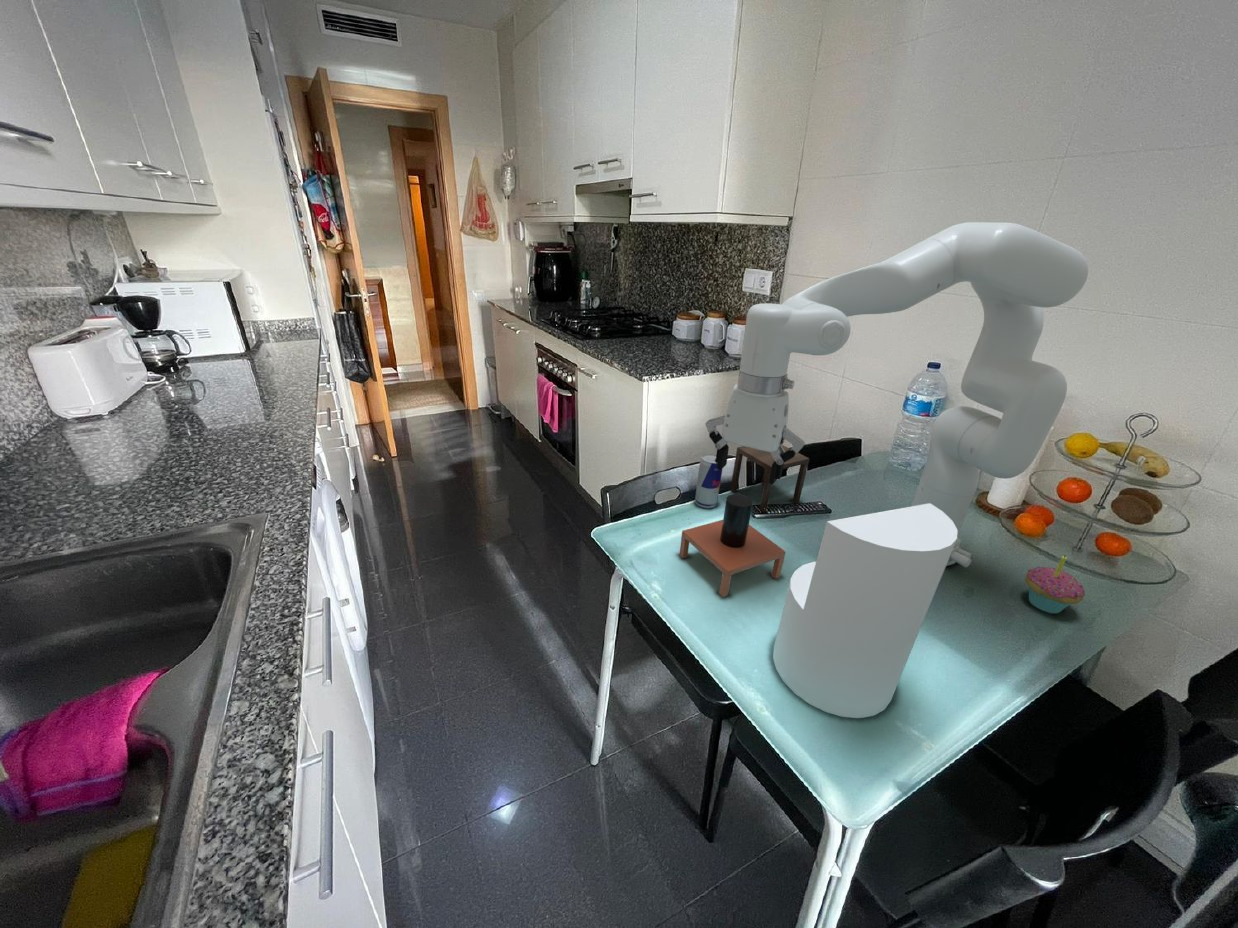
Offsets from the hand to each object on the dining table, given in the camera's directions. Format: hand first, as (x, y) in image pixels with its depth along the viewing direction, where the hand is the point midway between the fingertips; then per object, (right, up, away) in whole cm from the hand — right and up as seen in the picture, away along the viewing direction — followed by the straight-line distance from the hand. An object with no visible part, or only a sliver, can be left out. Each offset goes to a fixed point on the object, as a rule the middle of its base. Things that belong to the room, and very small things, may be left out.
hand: (746, 474), depth 90 cm
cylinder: (+9, -30, -13) cm, 34 cm away
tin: (-1, -13, +6) cm, 14 cm away
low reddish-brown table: (-1, -18, +9) cm, 20 cm away
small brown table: (+13, -6, +36) cm, 39 cm away
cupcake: (+56, -24, +3) cm, 61 cm away
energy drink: (-2, -8, +31) cm, 32 cm away
